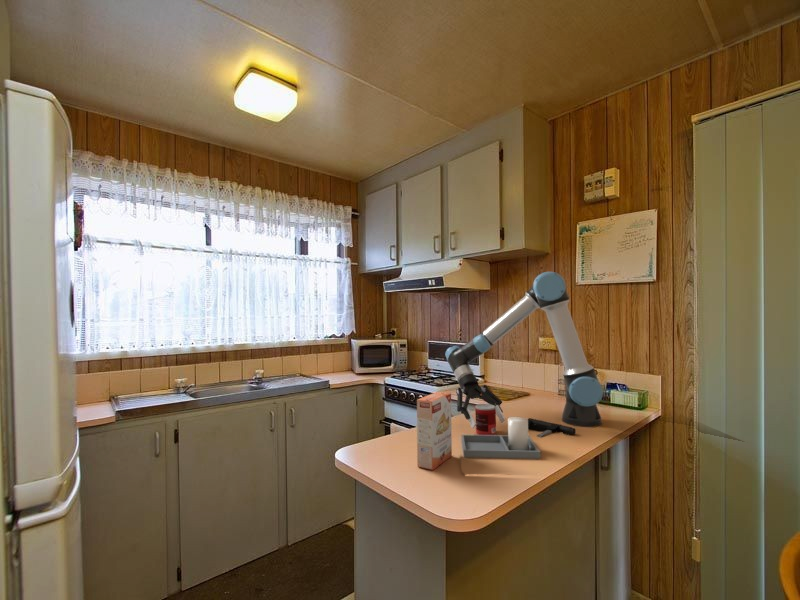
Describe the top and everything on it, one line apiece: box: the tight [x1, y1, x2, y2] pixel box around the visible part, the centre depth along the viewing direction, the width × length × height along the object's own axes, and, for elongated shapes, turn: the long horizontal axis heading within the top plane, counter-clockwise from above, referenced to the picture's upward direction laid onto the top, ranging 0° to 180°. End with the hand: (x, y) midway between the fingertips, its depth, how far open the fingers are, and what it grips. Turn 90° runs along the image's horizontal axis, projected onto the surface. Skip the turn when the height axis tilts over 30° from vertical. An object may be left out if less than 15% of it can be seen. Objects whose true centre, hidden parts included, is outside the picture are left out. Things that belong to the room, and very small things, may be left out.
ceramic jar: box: [507, 416, 530, 451], centre depth 129 cm, size 7×7×10 cm
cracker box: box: [416, 391, 453, 471], centre depth 122 cm, size 14×6×21 cm, turn 148°
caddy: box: [460, 434, 542, 460], centre depth 130 cm, size 24×16×3 cm, turn 84°
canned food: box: [474, 403, 497, 435], centre depth 148 cm, size 8×8×11 cm
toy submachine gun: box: [527, 417, 576, 438], centre depth 149 cm, size 3×20×16 cm
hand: (489, 423), depth 146 cm, fingers open, 13 cm apart
